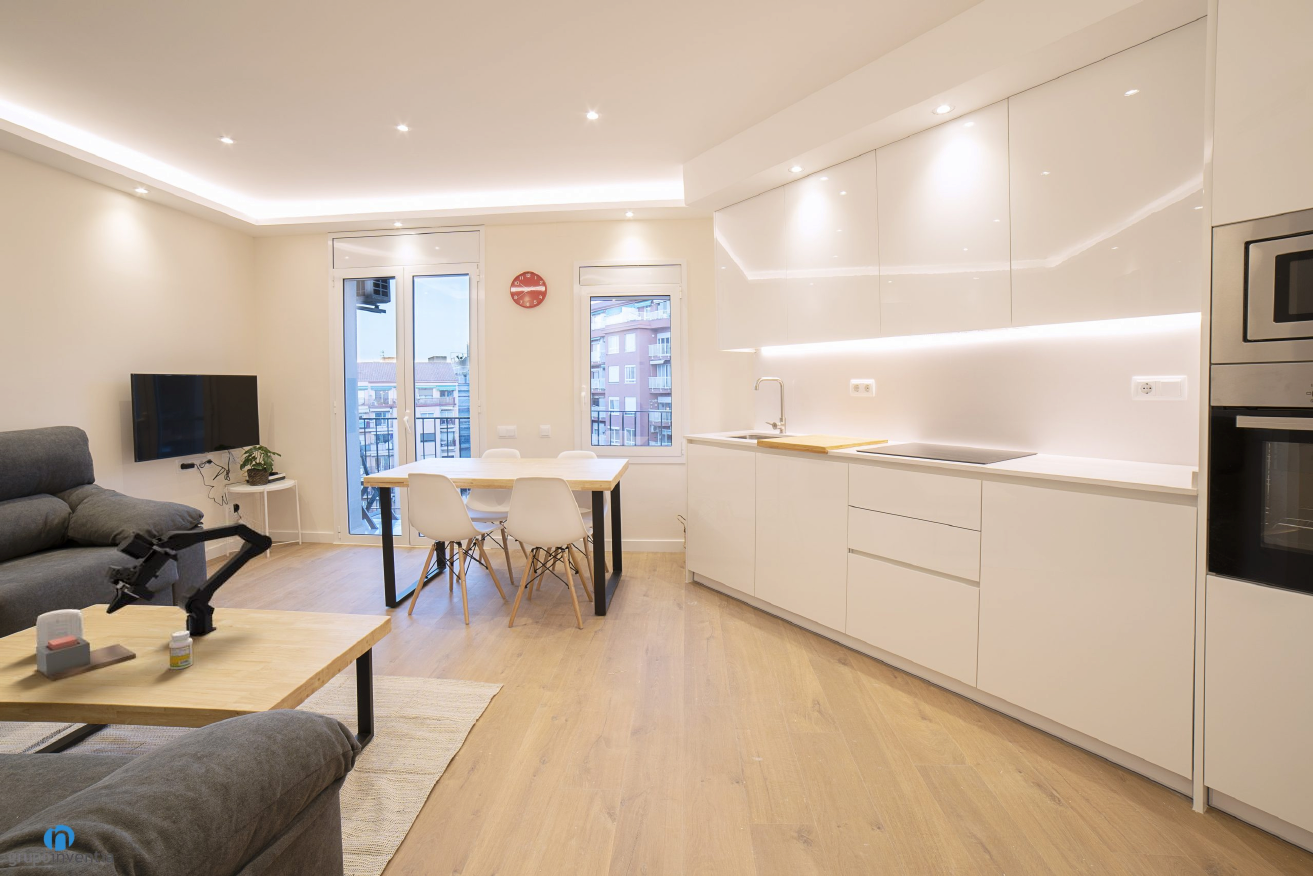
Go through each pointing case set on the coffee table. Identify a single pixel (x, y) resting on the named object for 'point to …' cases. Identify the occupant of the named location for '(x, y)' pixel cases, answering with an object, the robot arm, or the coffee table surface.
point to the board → (97, 660)
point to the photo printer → (58, 625)
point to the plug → (62, 643)
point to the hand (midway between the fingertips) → (107, 613)
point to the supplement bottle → (181, 650)
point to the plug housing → (63, 657)
